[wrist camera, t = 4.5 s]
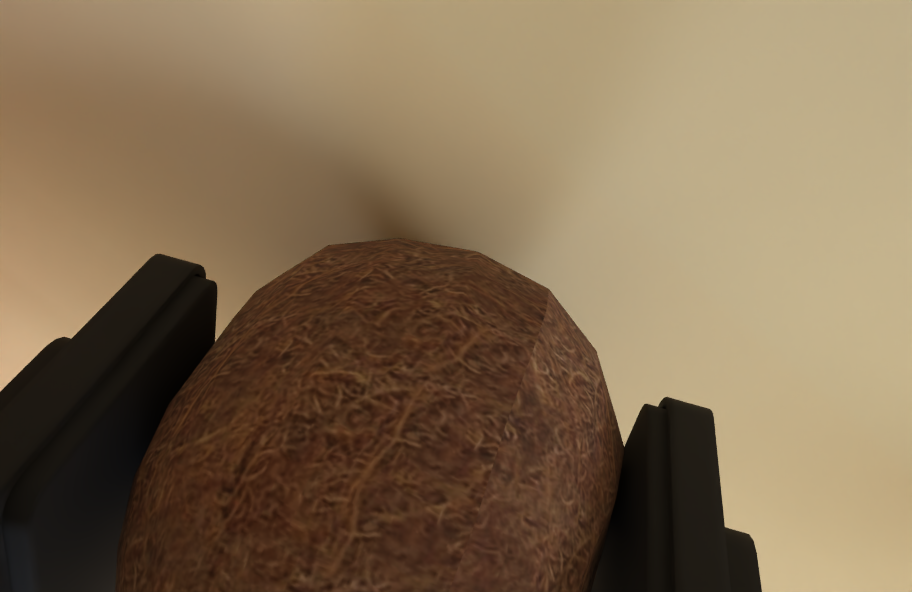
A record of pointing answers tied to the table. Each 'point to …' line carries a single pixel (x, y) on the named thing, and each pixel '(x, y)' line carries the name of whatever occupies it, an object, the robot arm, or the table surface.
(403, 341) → the coconut
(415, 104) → the table surface
